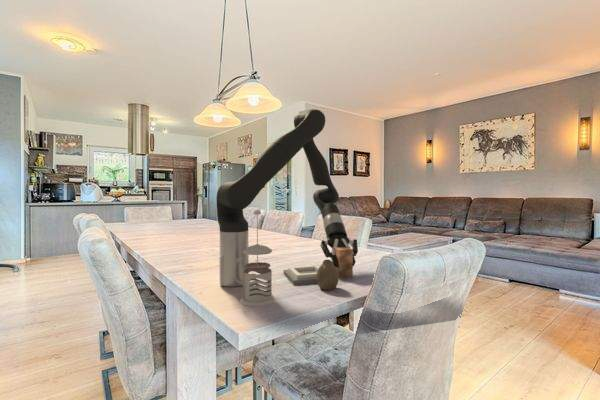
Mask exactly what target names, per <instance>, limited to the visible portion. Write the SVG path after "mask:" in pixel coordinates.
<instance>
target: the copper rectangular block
mask: <svg viewBox="0 0 600 400" xmlns="http://www.w3.org/2000/svg"><path fill="white" fill-rule="evenodd" d="M335 252H336V253H335V255H336V257H337V261H338V267H336V269H337V271H338V274H339V280H341V279H344V280H345V279H353V278H354V277H353V273H354V272H353V270H354V266H353V249H352V247H350V248H349V247H337V248H335Z"/></svg>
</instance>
